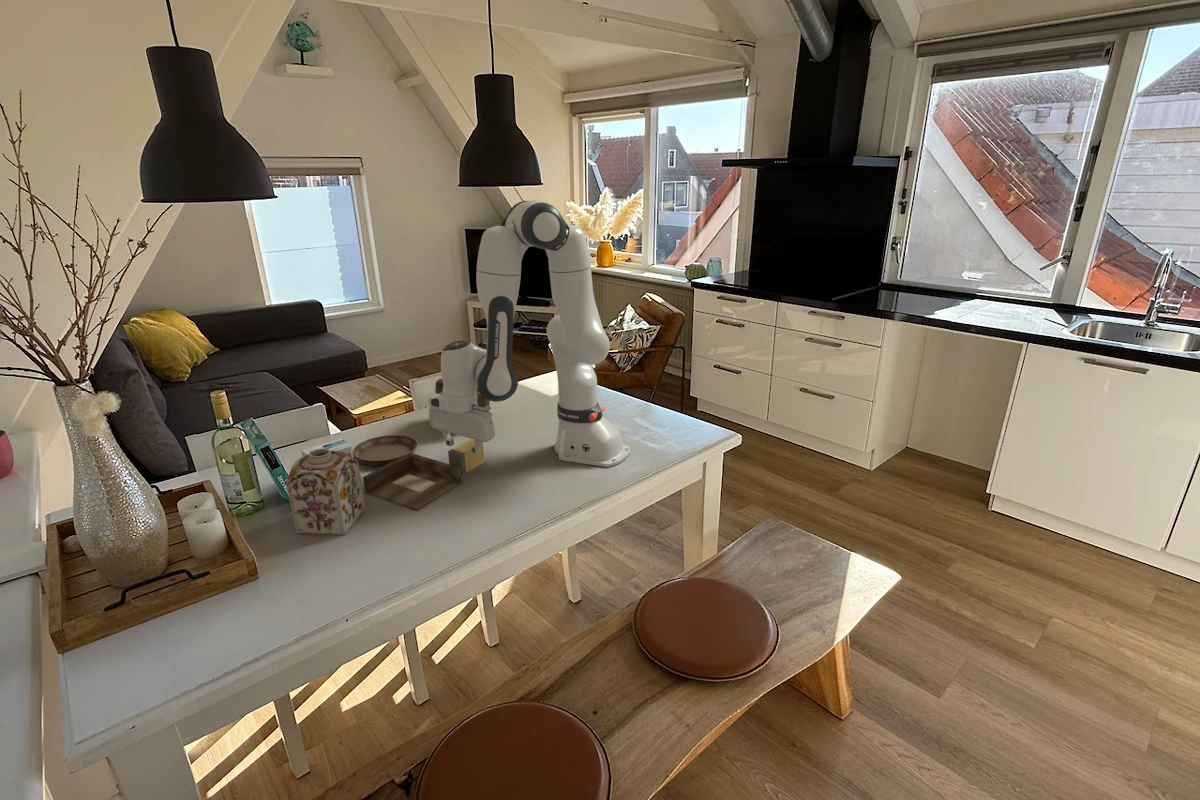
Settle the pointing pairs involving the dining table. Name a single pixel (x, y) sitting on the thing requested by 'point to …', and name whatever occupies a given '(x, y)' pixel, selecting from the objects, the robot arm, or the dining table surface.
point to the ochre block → (465, 456)
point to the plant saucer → (384, 449)
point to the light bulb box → (332, 447)
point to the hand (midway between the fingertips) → (463, 448)
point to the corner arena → (412, 481)
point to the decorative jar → (325, 492)
